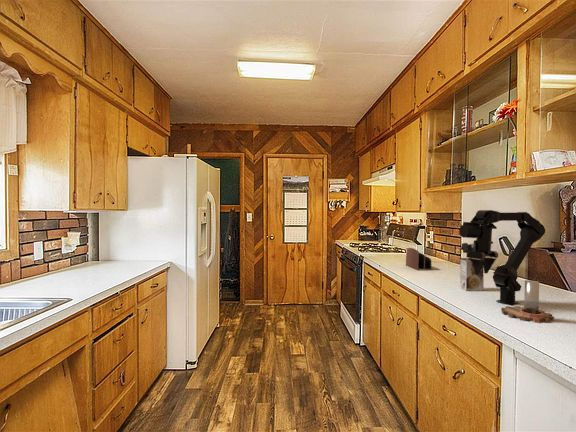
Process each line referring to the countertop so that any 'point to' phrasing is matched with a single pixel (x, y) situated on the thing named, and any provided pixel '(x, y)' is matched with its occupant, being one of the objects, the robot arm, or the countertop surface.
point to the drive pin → (531, 297)
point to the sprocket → (526, 314)
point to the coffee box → (470, 276)
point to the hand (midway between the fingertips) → (481, 274)
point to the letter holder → (417, 260)
